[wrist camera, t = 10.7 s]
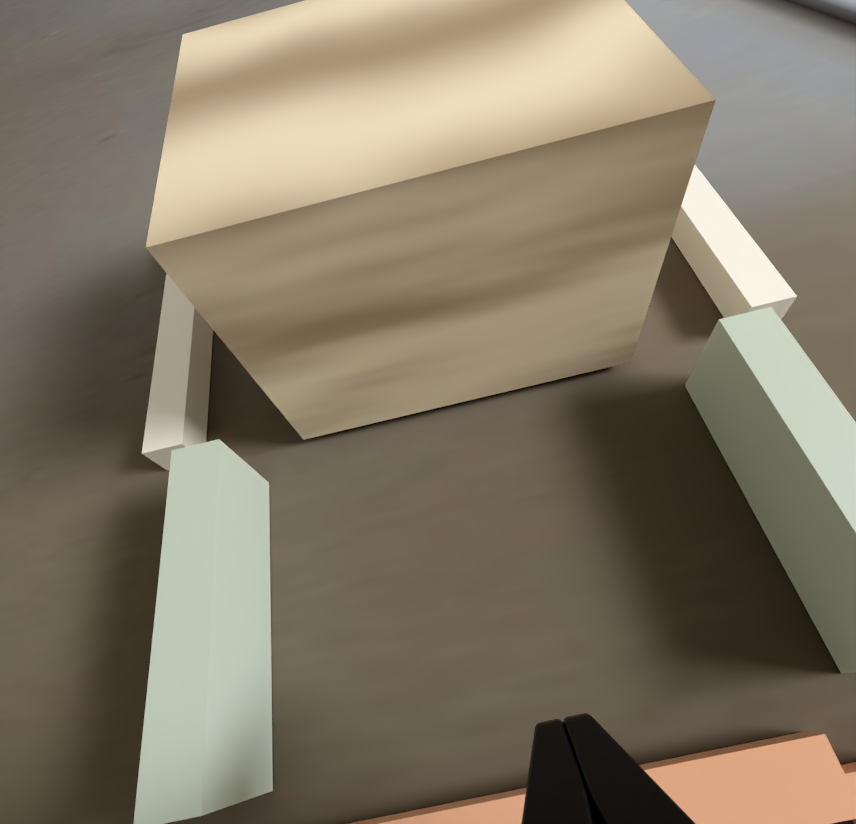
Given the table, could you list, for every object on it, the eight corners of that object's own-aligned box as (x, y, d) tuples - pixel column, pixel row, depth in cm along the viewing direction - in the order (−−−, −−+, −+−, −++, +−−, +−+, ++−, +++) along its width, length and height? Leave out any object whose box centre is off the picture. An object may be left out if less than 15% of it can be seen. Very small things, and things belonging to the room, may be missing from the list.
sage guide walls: (901, 660, 13) (1019, 647, 10) (219, 802, 13) (132, 830, 10) (727, 375, 17) (771, 306, 14) (229, 492, 18) (171, 450, 15)
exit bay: (777, 325, 18) (797, 296, 17) (167, 470, 19) (141, 453, 18) (631, 122, 25) (637, 91, 24) (191, 236, 26) (174, 212, 25)
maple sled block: (630, 362, 18) (715, 99, 10) (303, 439, 18) (145, 247, 11) (546, 189, 23) (559, -71, 15) (293, 254, 23) (182, 34, 16)
